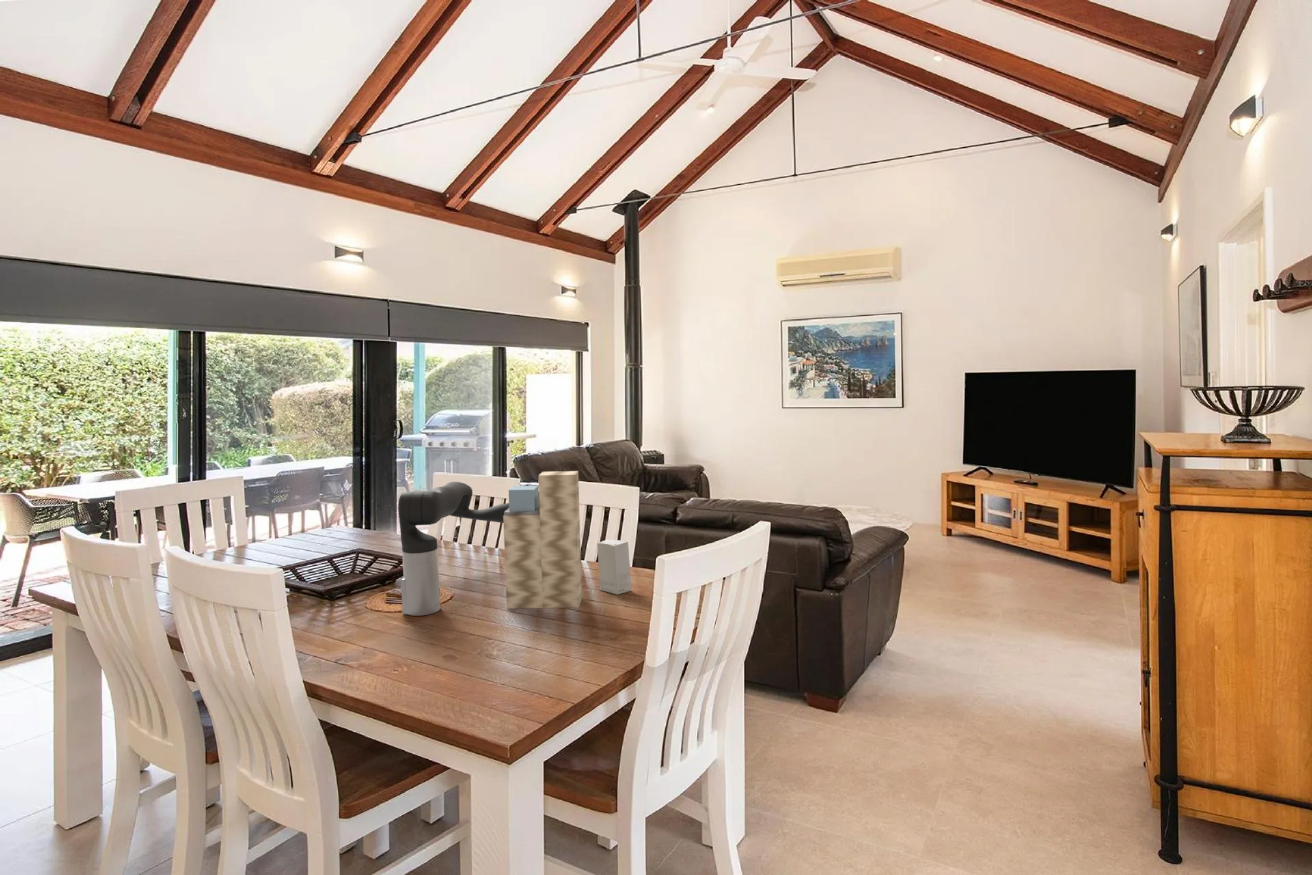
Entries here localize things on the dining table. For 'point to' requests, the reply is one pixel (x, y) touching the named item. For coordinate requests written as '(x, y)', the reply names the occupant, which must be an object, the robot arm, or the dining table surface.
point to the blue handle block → (523, 498)
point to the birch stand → (545, 547)
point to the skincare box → (614, 566)
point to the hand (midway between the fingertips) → (532, 488)
